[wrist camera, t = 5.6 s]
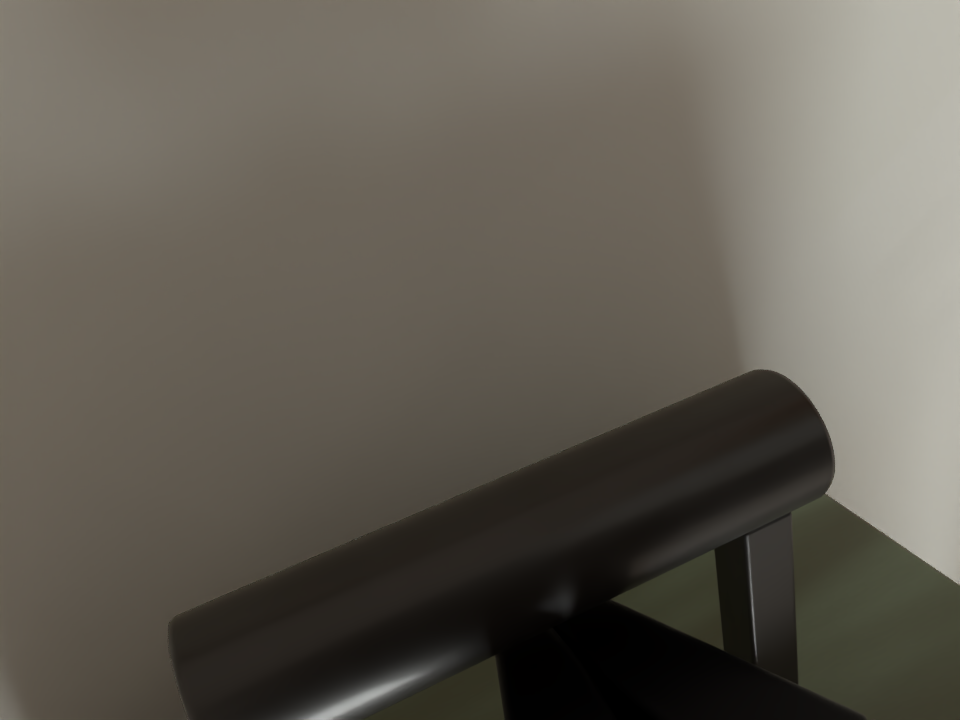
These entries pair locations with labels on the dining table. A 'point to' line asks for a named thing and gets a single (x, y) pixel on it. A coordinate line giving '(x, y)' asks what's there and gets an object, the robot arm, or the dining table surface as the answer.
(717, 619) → the drawer
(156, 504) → the dining table surface
